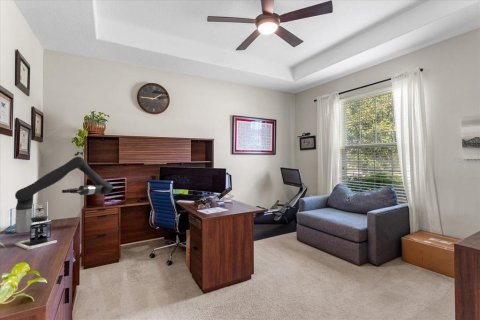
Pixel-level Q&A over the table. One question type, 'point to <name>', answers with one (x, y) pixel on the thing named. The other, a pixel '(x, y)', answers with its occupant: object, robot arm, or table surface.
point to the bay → (32, 246)
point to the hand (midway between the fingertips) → (62, 191)
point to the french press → (39, 237)
